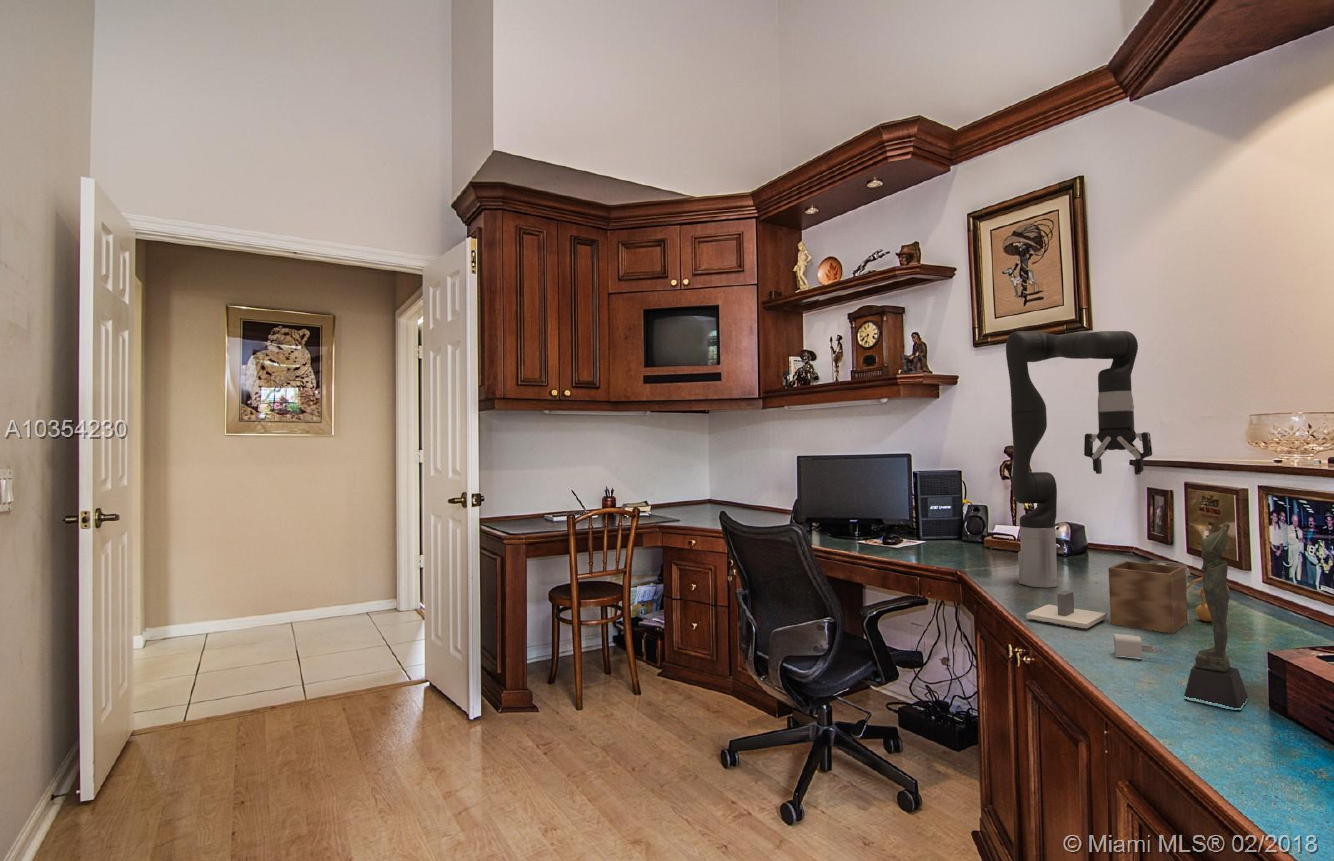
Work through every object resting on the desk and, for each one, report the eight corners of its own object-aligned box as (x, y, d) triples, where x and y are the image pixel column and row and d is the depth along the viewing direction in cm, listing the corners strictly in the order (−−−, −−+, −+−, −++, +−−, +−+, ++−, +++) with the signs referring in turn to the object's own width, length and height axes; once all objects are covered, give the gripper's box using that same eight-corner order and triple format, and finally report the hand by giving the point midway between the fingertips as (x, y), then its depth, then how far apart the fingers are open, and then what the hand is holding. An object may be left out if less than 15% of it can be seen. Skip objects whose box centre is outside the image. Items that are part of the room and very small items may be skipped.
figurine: (1225, 620, 159) (1223, 568, 159) (1235, 627, 153) (1233, 573, 153) (1182, 617, 162) (1180, 567, 162) (1190, 624, 156) (1188, 572, 157)
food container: (1202, 609, 169) (1200, 569, 169) (1174, 608, 170) (1172, 568, 170) (1175, 597, 181) (1174, 560, 181) (1149, 597, 182) (1148, 560, 182)
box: (1110, 623, 159) (1108, 567, 159) (1127, 614, 166) (1125, 560, 167) (1172, 633, 150) (1170, 574, 150) (1187, 623, 157) (1185, 567, 157)
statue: (1193, 688, 118) (1186, 516, 119) (1249, 700, 112) (1241, 519, 113) (1182, 699, 113) (1175, 520, 114) (1240, 712, 108) (1232, 523, 108)
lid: (1026, 622, 163) (1025, 592, 163) (1048, 612, 171) (1047, 584, 172) (1086, 632, 153) (1085, 601, 153) (1106, 621, 161) (1105, 592, 162)
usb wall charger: (1114, 652, 139) (1113, 632, 139) (1156, 657, 135) (1155, 636, 135) (1115, 658, 135) (1115, 638, 135) (1158, 663, 132) (1157, 642, 132)
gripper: (1078, 411, 174) (1081, 474, 174) (1144, 408, 163) (1146, 475, 163) (1089, 411, 179) (1091, 472, 179) (1153, 408, 168) (1156, 473, 168)
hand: (1118, 474), depth 171 cm, fingers open, 8 cm apart
